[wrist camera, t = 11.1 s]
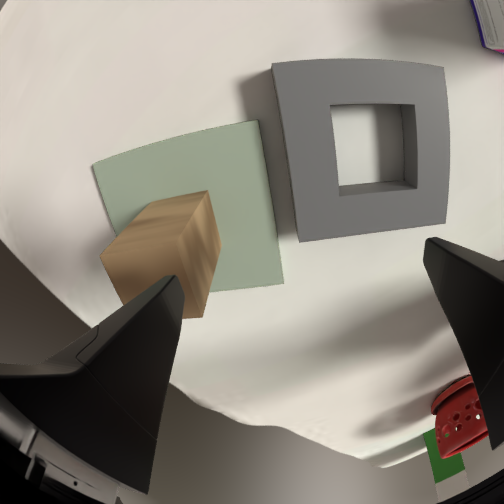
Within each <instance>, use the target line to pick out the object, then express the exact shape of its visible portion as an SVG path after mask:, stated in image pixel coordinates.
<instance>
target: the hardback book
mask: <svg viewBox="0 0 504 504" xmlns="http://www.w3.org/2000/svg"><path fill="white" fill-rule="evenodd" d="M423 435H424V439H425V443H426V446H427V450H428V454H429V458H430V462H431V466H432V471H433V475H434V480H435V484H436V489H437V495H438V500H439V502H442V501H444V500H446V499H449V498H451V497H453V496H455V495H457V494H459V493H461V492H463V491H465V490H467V489H469V484H468V480H467V475H466V471H465V467H464V464H463V460H462V456H461V453H460V452H459V453H457V454H455V455H453V456H450V457H447V458H444V459H442V458H441V457H440V454H439V450H438V446H437V441H436V434H435V428H434V429H432V430H430V431H428V432H425V433H423ZM448 436H449V434H447V433H446V434H445V437H448Z"/></svg>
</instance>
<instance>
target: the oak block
mask: <svg viewBox="0 0 504 504" xmlns="http://www.w3.org/2000/svg"><path fill="white" fill-rule="evenodd" d="M221 247H222V243H221V240H220V236H219V232H218V228H217V224H216V220H215V216H214V212H213V208H212V204H211V200H210V196H209V192H208V190H205V191H200V192H195V193H190V194H185V195H180V196H175V197H170V198H166V199H161V200H157V201H152V202H151V203H150V204H149V205H148V206H147V207H146V208H145V209H144V210H143V211H142V212H141V213H140V214H139V215H138V216H137V217H136V218H135V219H134V220H133V221H132V222H131V223H130V224H129V225H128V226H127V227H126V228H125V229H124V230H123V231H122V232H121V233H120V234H119V235H118V236H117V237H116V238H115V240H114V241H113V242H112V243H111V244H110V245H109V246H108V247H107V248H106V249H105V250H104V252H103V253H102V254H101V255H100V258H101V260H102V263H103V265H104V267H105V269H106V271H107V273H108V276H109V278H110V280H111V282H112V284H113V286H114V288H115V290H116V292H117V294H118V296H119V298H120V300H121V302H122V303H123V305H125V304H126V303H128V302H129V301H131V300H132V299H133V298H135V297H136V296H137V295H139V294H140V293H142V292H143V291H144V290H146V289H147V288H149V287H150V286H152V285H153V284H154V283H156V282H157V281H159V280H160V279H161V278H163V277H164V276H167V275H176V276H177V277H178V278H179V281H180V283H181V286H182V288H183V291H184V294H185V303H184V310H183V317H182V319H187V318H201V317H203V314H204V310H205V306H206V302H207V298H208V295H209V291H210V287H211V283H212V280H213V276H214V272H215V269H216V265H217V262H218V258H219V254H220V251H221Z"/></svg>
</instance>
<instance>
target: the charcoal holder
mask: <svg viewBox="0 0 504 504" xmlns="http://www.w3.org/2000/svg"><path fill="white" fill-rule="evenodd" d="M271 70H272V75H273V80H274V86H275V91H276V97H277V102H278V108H279V114H280V119H281V125H282V131H283V138H284V144H285V150H286V157H287V164H288V170H289V177H290V185H291V192H292V199H293V207H294V215H295V223H296V231H297V235H298V239H299V243H301V242H308V241H316V240H323V239H331V238H338V237H346V236H353V235H361V234H368V233H376V232H384V231H391V230H399V229H407V228H414V227H422V226H430V225H437V224H445V222H446V214H447V204H448V192H449V174H450V127H449V110H448V98H447V89H446V81H445V74H444V67H440V66H434V65H428V64H421V63H413V62H404V61H394V60H380V59H315V60H300V61H289V62H280V63H272V66H271ZM368 103H386V104H401V114H402V126H403V142H404V180H402V181H389V182H377V183H365V184H355V185H345V186H339V184H338V171H337V160H336V150H335V141H334V132H333V124H332V117H331V110H330V105H338V104H368Z"/></svg>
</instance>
